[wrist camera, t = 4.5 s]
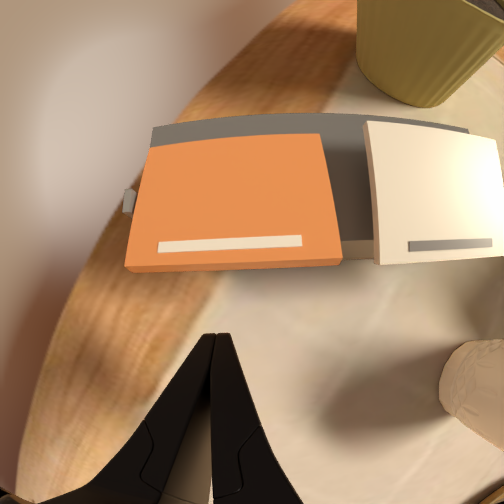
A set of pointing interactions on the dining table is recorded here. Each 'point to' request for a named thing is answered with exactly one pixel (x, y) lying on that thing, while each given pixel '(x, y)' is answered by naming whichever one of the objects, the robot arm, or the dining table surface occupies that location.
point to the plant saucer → (494, 496)
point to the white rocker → (433, 194)
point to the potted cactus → (426, 45)
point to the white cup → (476, 388)
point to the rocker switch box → (336, 155)
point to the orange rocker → (235, 206)
